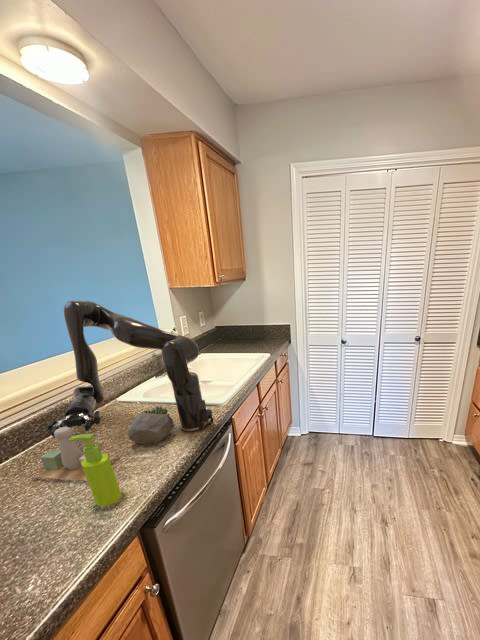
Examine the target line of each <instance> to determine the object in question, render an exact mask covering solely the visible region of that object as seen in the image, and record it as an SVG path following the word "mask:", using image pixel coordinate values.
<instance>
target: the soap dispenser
mask: <svg viewBox="0 0 480 640" xmlns="http://www.w3.org/2000/svg"><path fill="white" fill-rule="evenodd" d="M95 436H96V435H95V433H81V434H76V435H72V437H71V438H70V439H69V440H68V441H69V442H71V441H75V442H76V441H83V443H84V447H83V448H82V453H83V454H84V455H85V458H86V459H84V460H83V461H82V463H81V465H82V468H83V470H84V473H85V476H86V478H87V480H86V481H87V484H88V486H89V488H90V492H91V494H92V496H93V499H94V501H95V504H96V506H98V507H103V508H104V507H109V506H111V505H113V504H115V503H117V502H118V501H119V500H120V499H121V498H122V493H121V489H120V486H119V483H118V480H117V477H116V474H115V471H114V469H113V465H112V461H110V459H109V456H110V455H109V454H108V453H105V452H104V453H101V451H102V450H101V448H100V446H99V444H97V443H94V441H93V439H94V438H95Z"/></svg>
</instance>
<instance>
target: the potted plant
mask: <svg viewBox="0 0 480 640" xmlns="http://www.w3.org/2000/svg"><path fill="white" fill-rule="evenodd" d="M168 410H169V409H168V408H167V406H165V407H163V406H159V405H157V406H155V408H154V407H153V408H151V410H150V409H146V410H143V411H142V412H141V413H138V415H136V417H135V418H134V420H133V421H132V423H131V424H130V427H129V429H128V437H129V440H131V441H132V442H134V443H136V444H138V445H141V446H148V445H157V444H159V443H160V442H162V441H163V440H165V439H166V438H167V437H169V435H170V434H171V432H172V431H173V429H174V427H175V424H174V420H173V418H172V417H171V416H170V413H168Z"/></svg>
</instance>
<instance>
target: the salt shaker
mask: <svg viewBox="0 0 480 640" xmlns="http://www.w3.org/2000/svg"><path fill="white" fill-rule="evenodd" d="M58 428H59V429H57V430H56V431H55V432H54V435H55V439H57V440H58V443H59V449H60V451H61V458H62V464H63V466H65V467H66V468H67V469H69V470H75V469H78V468H80V467H82V465H81V463H80V460H79V458H81V457H82V456H83V455H84V453H83V450H81V448H80V447H79V445H78V444H77V443H76V441H71V442H69V441H68V440H69V439H70V438H71V437H73V430H72V427H71V428H69V427H67V426H65V427H62V428H61V427H58Z"/></svg>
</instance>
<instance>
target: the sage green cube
mask: <svg viewBox="0 0 480 640" xmlns="http://www.w3.org/2000/svg"><path fill="white" fill-rule="evenodd" d="M40 460H41V462H42V465H43V466H44V470H45V469H48V470H59V469H61V468H62V467H63V464H62V458H61V451H60V448H52V449H51V450H49V451H47V452H46V453H44V454H43V455H41V456H40Z"/></svg>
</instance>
